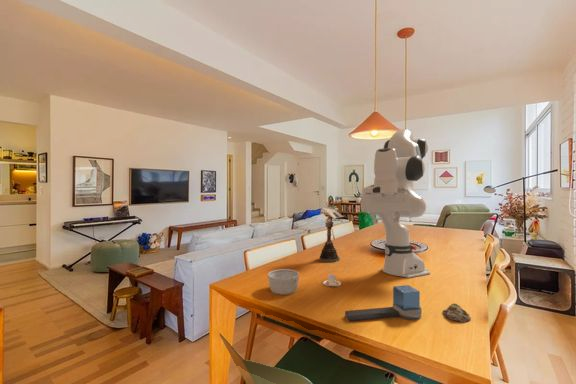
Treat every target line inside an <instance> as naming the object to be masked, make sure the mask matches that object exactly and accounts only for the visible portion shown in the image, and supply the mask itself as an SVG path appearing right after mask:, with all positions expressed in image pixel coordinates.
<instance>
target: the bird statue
mask: <svg viewBox="0 0 576 384" xmlns="http://www.w3.org/2000/svg"><path fill="white" fill-rule="evenodd" d="M334 207H335V205H332V206H330V204H329V202H328V201H326V202H325V207H324V206H323V207H321V210H322V211H324V212H325V213H326V215H327V218H326V220H325V222H324V224H325V227H326V230H327V231H326V237H327V239H326V241H325V242H324V244H323V247H322V249H321V252H320V256H319V260H320V261H321V260H322V261H321V262H324V261H325V262H324V263H336V261H337V262H338V261H340V257H339V255H338V252H337V249H336V248H335V246H334V243H333V241H332V228H333V226H334V222H333V221H335V222H337V220H343V219H346V218H345V217H346V215H342V214H341V213H340V212H338V211H337V210H335V209H334Z"/></svg>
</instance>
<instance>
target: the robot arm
mask: <svg viewBox="0 0 576 384" xmlns="http://www.w3.org/2000/svg"><path fill="white" fill-rule="evenodd" d="M428 149H429V146H428V142H427V141H426V139H424V138H414V135H413V133H412V132H411V131H410V130H409V129H406V128H400V129H398V130H397V131H396V132H394V133H393V134H392V136H391V138H390V139H388V140H386V141H385V143H384V145H383V148H378V149H377V150H376V151H375V154H374V160H373V161H374V163H373V172H374V179H373V180H374V181H373V184H370V185H368V186H365V187H363V188H362V193H363V194H362V195H361V198H360V210H361V211H362V213H366V214H367V213H368V214H369V216H370V218H371V221H372V222H371V223H372V224H373V225H377V224H379V219H380V220H381V221H382V224H383V226H384V230H385V243H384V253H385V257H384V262H383V263H384V264H383V268H382V272H383V273H385V274H388V275H390V276H397V277H398V276H399V277H403V278H408V279H409V278H414V277H415V278H416V277H420V276H425V275H430V274H431V272H430V270H429V269H427V268H426V266H425V262H424V260H423V259H422V258H421V257H420V256H418V255H417V254H416V253H415V252H414V251H417V249H418V247H417V245H412V244H410V230H409V228H408V227H407V226H406V225H404V224H402V223H400V218H419V217H422V216H423V215H424V214H425V212H426V209H427V203H426V201H425V199H424V198H423V197H421V196H420V195H419V194H417V193H416V192H415V190H414V182H418V181H419V180H420V179H422V178H423V177H424V175H425V162H424V161H423V159H424V158H425V157H426V155H427V153H428ZM376 217H378V218H379V219H377V218H376ZM413 250H414V251H413Z"/></svg>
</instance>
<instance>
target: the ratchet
mask: <svg viewBox="0 0 576 384" xmlns="http://www.w3.org/2000/svg"><path fill="white" fill-rule="evenodd" d="M344 312H345V313H344V314H345V316H344V317H345V318H346V320H347V321H348V322H350V323H351V322H352V323H353V322H362V321H373V320H383V319H393V318H399V319H403V320H407V321H417V320H420V319H421V318H422V307H421V306H420V309H416V310H407V311H403V310H402V309H400V308H399V307H398V306H396V305H395V304H394V303H393V302H392V306H390V307H389V306H385V307H377V308H362V309H353V310H352V309H351V310H345V311H344Z"/></svg>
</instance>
